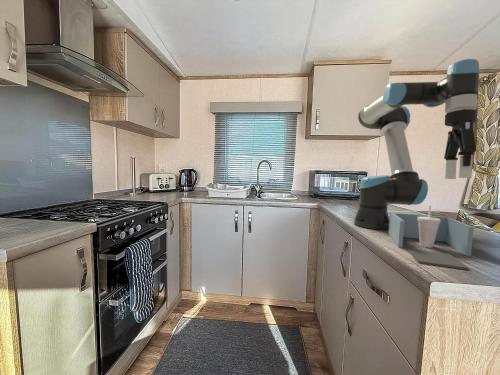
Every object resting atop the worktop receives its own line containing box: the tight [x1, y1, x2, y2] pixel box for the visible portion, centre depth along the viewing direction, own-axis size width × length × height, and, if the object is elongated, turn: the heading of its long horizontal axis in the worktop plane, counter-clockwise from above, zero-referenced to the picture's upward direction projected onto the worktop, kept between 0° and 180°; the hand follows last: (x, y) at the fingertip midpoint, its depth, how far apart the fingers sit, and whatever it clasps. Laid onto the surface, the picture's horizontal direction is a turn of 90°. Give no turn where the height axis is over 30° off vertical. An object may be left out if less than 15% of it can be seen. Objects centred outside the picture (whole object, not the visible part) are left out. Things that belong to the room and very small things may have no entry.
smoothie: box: [417, 204, 441, 249], centre depth 80 cm, size 6×6×14 cm
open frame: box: [388, 212, 475, 257], centre depth 82 cm, size 17×19×9 cm
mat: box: [407, 248, 469, 271], centre depth 68 cm, size 11×11×1 cm
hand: (456, 178), depth 75 cm, fingers open, 13 cm apart
